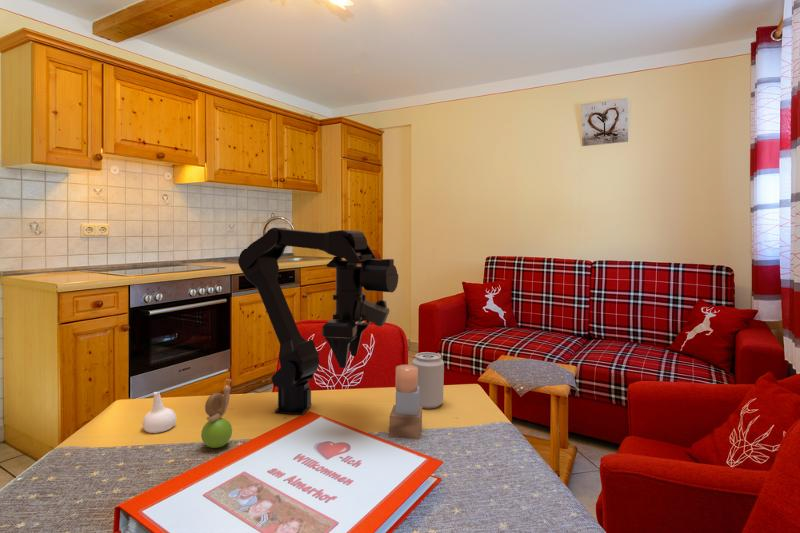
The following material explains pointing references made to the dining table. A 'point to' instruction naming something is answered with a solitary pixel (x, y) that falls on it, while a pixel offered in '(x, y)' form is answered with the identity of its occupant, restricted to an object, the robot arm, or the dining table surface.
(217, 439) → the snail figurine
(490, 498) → the dining table surface
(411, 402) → the slate cube
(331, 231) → the robot arm
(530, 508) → the dining table surface
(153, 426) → the garlic bulb
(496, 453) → the dining table surface
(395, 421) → the walnut base block
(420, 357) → the can
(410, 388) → the terracotta cylinder
